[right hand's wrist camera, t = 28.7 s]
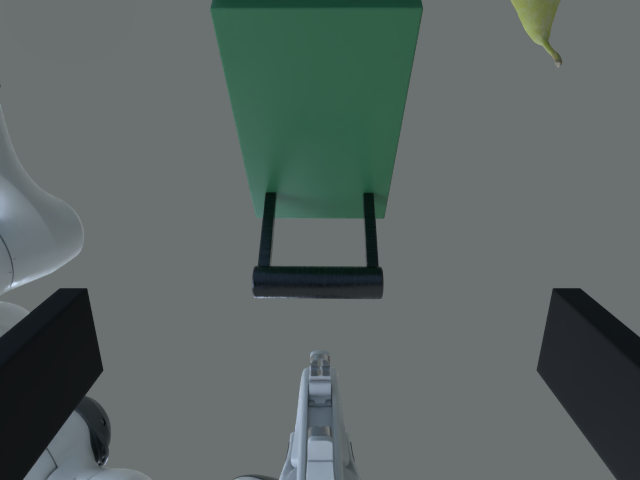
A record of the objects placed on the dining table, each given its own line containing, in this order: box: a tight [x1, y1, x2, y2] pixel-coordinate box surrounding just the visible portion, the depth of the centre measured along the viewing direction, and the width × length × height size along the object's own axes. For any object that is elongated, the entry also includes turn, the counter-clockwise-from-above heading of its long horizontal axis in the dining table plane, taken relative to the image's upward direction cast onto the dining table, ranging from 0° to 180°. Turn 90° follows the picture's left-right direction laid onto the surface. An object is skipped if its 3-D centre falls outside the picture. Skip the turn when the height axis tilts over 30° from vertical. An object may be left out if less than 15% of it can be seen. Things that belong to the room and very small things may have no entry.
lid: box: [210, 0, 423, 299], centre depth 24 cm, size 16×9×9 cm
